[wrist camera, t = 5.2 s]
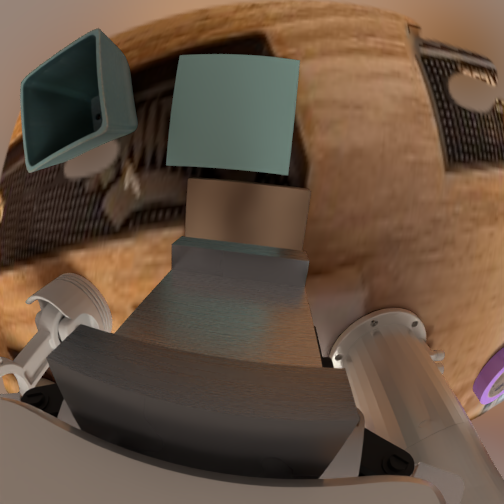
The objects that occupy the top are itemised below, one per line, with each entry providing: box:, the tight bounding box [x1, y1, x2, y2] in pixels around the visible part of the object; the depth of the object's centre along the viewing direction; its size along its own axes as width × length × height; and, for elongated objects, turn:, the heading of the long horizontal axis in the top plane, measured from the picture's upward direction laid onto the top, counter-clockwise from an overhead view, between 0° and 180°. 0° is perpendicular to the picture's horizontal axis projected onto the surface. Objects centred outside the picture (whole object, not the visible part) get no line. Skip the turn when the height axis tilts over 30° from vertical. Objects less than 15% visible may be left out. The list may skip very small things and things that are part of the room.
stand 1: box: [166, 54, 300, 175], centre depth 20 cm, size 10×10×2 cm
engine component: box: [0, 273, 112, 396], centre depth 19 cm, size 11×20×10 cm
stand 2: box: [185, 177, 311, 251], centre depth 24 cm, size 10×10×2 cm
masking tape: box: [473, 348, 504, 404], centre depth 29 cm, size 12×12×4 cm
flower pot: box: [20, 29, 138, 173], centre depth 17 cm, size 9×9×9 cm
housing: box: [46, 236, 360, 479], centre depth 8 cm, size 8×5×8 cm, turn 174°
